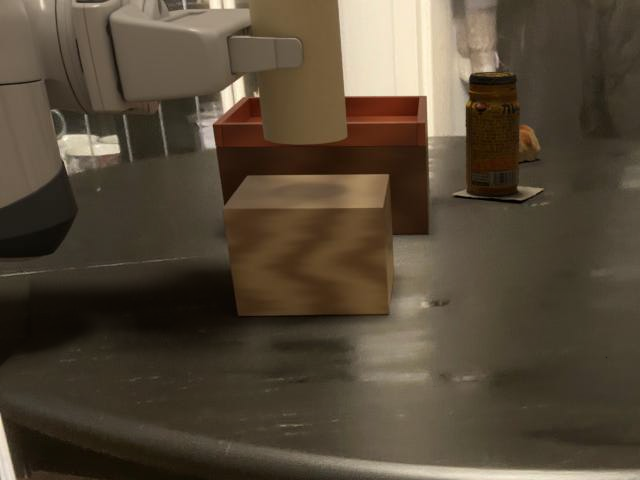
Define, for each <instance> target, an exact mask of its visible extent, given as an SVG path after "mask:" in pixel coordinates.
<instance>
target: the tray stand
mask: <svg viewBox="0 0 640 480" xmlns="http://www.w3.org/2000/svg"><path fill="white" fill-rule="evenodd" d="M345 107H346V121H347V138H345V139H343V140H340V141H336V142H331V143H323V144H307V145H294V144H280V143H274V142H270V141H267V140H265V139H264V133H263V124H262V116H261V107H260V98H259V96H243V97H241V98H240V99H238V101H237V102H236V103H235V104H233V106H231V107H229V109H228V110H226V111H225V112H224V113H223V114H222V115H221V116H220V117H219V118H218V119H216V121H214V122H213V123H212V131H213V138H214V145H215V146H214V147H215V152H216V159H217V164H218V172H219V179H220V185H221V186H220V187H221V194H222V200H223V207H224V206H225V205H226V203H227V202H228V201H229V199H230V198H231V197H232V195H233V194H234V193H235V191H236V190H237V189H238V187H239V186H240V185H241V184H242V182H243V181H244V180H245V178H246V177H247V176H261V175H373V174H389V177H390V196H391V216H392V235H428V234H429V233H430V202H431V201H430V200H431V199H430V198H431V197H430V196H431V192H430V188H431V187H430V161H429V160H430V158H429V123H428V121H429V120H428V96H427V95H354V96H353V95H345Z"/></svg>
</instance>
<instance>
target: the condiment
mask: <svg viewBox="0 0 640 480" xmlns="http://www.w3.org/2000/svg"><path fill="white" fill-rule="evenodd" d="M517 82H518V78H517V75H516V74H515V73H513V72H505V71H478V72H473V73H470V75H469V77H468V85H469V87H468V88H469V89H468V95H469V98H468V101H466V104H465V182H466V183H465V184H466V186H467V188H465V189H462V190H460V191H456V192H454V193H452V195H453V196H454V195H455V196H460V197H467V198H469V197H470V198H476V199H477V198H480V199H498V200H505V201H507V200H516V201H524V200H526V199H529V198H531V197H533V196H534V197H535V196H536V195H537V194H538V193H541V191H543V190H544V188H542V187H541V188H540V187H531V186H523V185H522V186H521V185H519V183H520V179H519V176H520V174H519V171H520V168H519V166H520V164H519V163H520V162H519V126H521V124H520V123H521V122H520V119H521V118H520V117H521V116H520V115H521V112H520V111H521V107H520V102H519V100H518V89H517Z"/></svg>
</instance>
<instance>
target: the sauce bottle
mask: <svg viewBox="0 0 640 480" xmlns="http://www.w3.org/2000/svg"><path fill="white" fill-rule="evenodd" d="M247 2H248V3H247V4H248V9H249V12H250V21H251V30H252V37H269V38H276V37H298V38H299V39H301V40H302V43H303V52H304V62H303V64H302V65H301V66H300V67H298V68H277V69H271V70H265V71H258V72H255V73H256V80H257V89H258V97H259V98H260V107H261V116H262V124H263V133H264V139H265V140H267V141H270V142H274V143H280V144H294V145H307V144H323V143H331V142H336V141H340V140H343V139H345V138H347V121H346V107H345V96H346V93H345V82H344V81H345V80H344V67H343V65H344V64H343V55H342V54H343V51H342V39H341V38H342V37H341V24H340V23H341V22H340V9H339V0H247Z"/></svg>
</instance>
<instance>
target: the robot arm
mask: <svg viewBox="0 0 640 480" xmlns="http://www.w3.org/2000/svg"><path fill="white" fill-rule="evenodd" d="M303 62H304V52H303V43H302V40H301V39H299V38H298V37H276V38H269V37H252V30H251V21H250V12H249V8H241V7H240V8H190V9H186V8H185V9H176V10H171V11H169V9H168V7H167V5H166V2H165V1H164V0H0V263H19V262H28V261H32V260H36V259H40V258H42V257H45V256H49V255H53V254H54V253H55V252H56V251H57V250H58V248H60V246H61V244H62V243H63V242H64V240H65V239H66V237H67V235H68V234H69V232H70V230H71V228H72V226H73V224H74V222H75V219H76V218H77V215H78V213H79V206H78V203H77V199H76V197H75V193H74V189H73V187H72V184H71V180H70V177H69V174H68V170H67V167H66V164H65V161H64V160H63V158H62V156H61V152H60V147H59V143H58V138H57V134H56V133H57V132H56V129H55V124H54V119H53V114H52V111H54V110H65V111H71V112H75V113H78V114H80V115H84V116H85V115H86V116H153V115H155V114H156V113H157V112H158V110H159V108H160V104H161V101H170V100H178V99H187V98H188V99H189V98H197V97H201V96H207V95H213V94H217V93H220V92H223V91H225V90H226V89H227V88H229V87H230V86H231V85H233V84H234V83H235V82H237V81H238V80H239V79H241V78H242V77H244V76H245V75H246V74H249V73H250V74H252V73H256V72H258V71H265V70H271V69H277V68H298V67H300V66H301V65H302V64H303Z"/></svg>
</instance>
